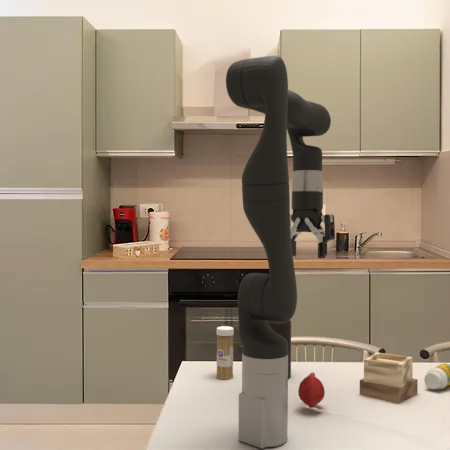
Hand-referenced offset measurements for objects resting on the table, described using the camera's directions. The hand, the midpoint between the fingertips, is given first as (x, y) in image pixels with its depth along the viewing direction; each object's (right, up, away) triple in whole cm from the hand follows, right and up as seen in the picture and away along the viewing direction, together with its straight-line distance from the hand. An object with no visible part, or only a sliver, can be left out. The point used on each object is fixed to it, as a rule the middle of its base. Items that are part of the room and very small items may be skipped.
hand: (306, 257), depth 142 cm
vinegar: (-6, -33, +14) cm, 36 cm away
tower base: (+20, -34, 0) cm, 39 cm away
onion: (0, -34, -10) cm, 35 cm away
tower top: (+20, -30, 0) cm, 36 cm away
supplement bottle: (+38, -30, +9) cm, 49 cm away
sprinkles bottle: (-20, -33, +13) cm, 41 cm away
